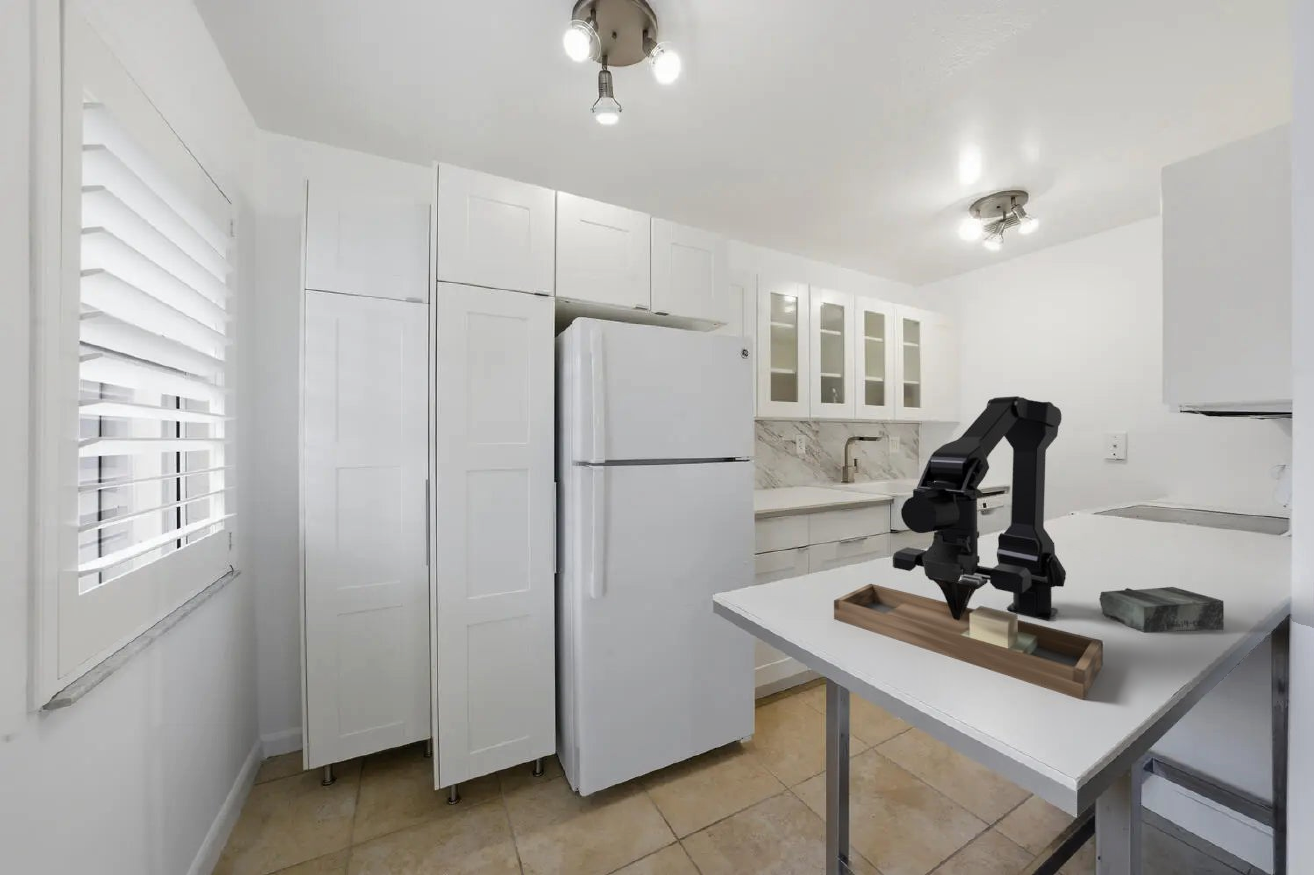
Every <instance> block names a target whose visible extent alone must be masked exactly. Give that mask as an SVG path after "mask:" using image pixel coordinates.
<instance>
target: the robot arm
mask: <svg viewBox="0 0 1314 875" xmlns="http://www.w3.org/2000/svg"><path fill="white" fill-rule="evenodd" d="M1062 417H1063V416H1062V412H1061V409H1060V408H1059V407H1057V406H1056V405H1054V404H1053V402H1051V401H1038V400H1031V399H1027V398H1025V397H1020V396H1019V395H1017V396H1003V397H1002V396H1001V397H994V398H992V399H989V400H988V401H987V404H986V408H985V409H984V410H983V411H982V412H981V413H980V415H979V416H978V417H977V418H976V419H975V420H974V421H973V423H972V424H971V425H970V426H968V428H967V429H966V431H965V432H964V433H963V434H961V436H960V437H959V438H958V439H955V440H952V441H950V442H947V443H944V444H943V445H942V446H940V447H939V448H937V449H936V450H935V451H934V452H932V454H931V455H930V457H929V459H928V460H927V464H926V466H925V468H924V470H923V472H922V474H921V477H920V480H919V482H918V484H917V486H916V488H913V490H912V496H911V497H909V498H908V499H906V500H905V501H904V503H903V505H902V508H900V509H901V510H900V512H901V513H900V514H901V519H902V520H903V523H904V524H905V526H906V527H907V528H908V529H909V530H911V532H913V533H914V532H915V533H917V534H927V533H932V532H934V533H933V541H932V544H931V546H929V547H928V548H927V550H926V549H925V550H924V549H919V548H914V547H909V546H908V547H905V548H902V549H900V550H898V551H897V550H896V552H894V553H893V556H892V568H894V569H898V570H903V571H908V572H911V571H912V570H914V569H916V568H917V567H922V568H923V570H924V571H923V572H924V576H925V577H927V578H928V580H929V581H933V582H934V583H935V584H936V585H938V587H939V588H940V591H942V594H943V596H944V598H945V602H947V603H948V606H949V608H950V611H951V613H952V616H953V618H954V619H955V620H961V618H962V616H963V614H964V612H965V610H966V607H967V608H968V605H969V603H970V601H971V599H972V596H973V595H974V593H975V592H976V590H979V589H980V588H982V587H984V586H985V585H986V584H987V583H988V581H989V583H990V584H991V585H992V587H994V589H995V590H999V591H1004V592H1008V593H1013V595H1012V597H1013V598H1012V600H1013V601H1012V602H1011V603H1010V604H1009V605H1008V606H1007V607H1006V610H1007V612H1011V613H1012V612H1013V613H1015V614H1021V615H1025V616H1029V617H1033V618H1036V619H1037V618H1038V619H1042V620H1046V621H1051V619H1052V618H1054V616H1055V615H1056V614H1057V613H1058V610H1059V609H1058V608H1054V607H1052V606H1053V605H1052V602H1053V601H1052V597H1053V595H1052V594H1053V592H1052V588H1055V587H1061V588H1062V587H1065V582H1066V578H1067V577H1066V576H1067V571H1066V570H1065V568H1064V566H1063V565H1062V563H1061V561H1060V559H1059V558H1058V556H1057V555H1056V551H1055V543H1054V540H1053V539H1052V538H1051V536H1050V535H1049V534H1048V532H1047V531H1046V529H1045V527H1044V526H1045V525H1044V523H1045V522H1044V521H1045V491H1046V490H1045V488H1046V487H1045V486H1046V485H1045V484H1046V453H1047V449H1048V448H1049V447H1050V445H1051V444H1052V443H1053V442H1054V440H1056V438H1057V437H1058V433H1059V426H1060V425H1061V423H1062ZM1003 438H1004V439H1006V441H1007V442H1008V444H1009V445H1010V446H1011V448H1012V477H1011V478H1012V480H1011V482H1012V483H1011V484H1012V485H1011V510H1010V511H1011V512H1010V514H1011V517H1010V518H1011V519H1010V525H1009V526H1008V528H1007V529H1006V530H1005V531H1004V533H1003V532H1000V533H999V535H998V537H997V540H998V542H997V543H998V545H997V550H996V558H997V559H996V560H997V563H998V564H997V565H995V566H994V567H987V566H982V565H979V563H980V561H981V560H980V555H979V551H978V550H979V549H978V545H979V544H978V543H979V542H978V541H979V540H978V539H980V531H978V499H979V498H983V497H984V493H983V491H982V490H980V489H979V488H978V487H979V485H980V484H981V483H982V482H983V480H984V478H985V477H986V475H987V473H988V471H989V470H990V465H989V461H988V457H989V456H990V454H991V453H992V451H993V450H995V448H996V446H997V445H998V444H999V443H1000V441H1002V440H1003ZM916 566H917V567H916Z"/></svg>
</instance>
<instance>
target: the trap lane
mask: <svg viewBox="0 0 1314 875" xmlns="http://www.w3.org/2000/svg"><path fill="white" fill-rule="evenodd" d="M975 609H976V608H971V607H968V606H967V607H966V610H965V612H964V614H963V616H962V618H961V620H955V619H954V618H953V616H952V613H951V611H950V608H949V606H948V603H947V601H942V600H939V599H934V598H931V597H928V596H923V595H918V594H914V593H910V592H907V591H906V592H905V591H902V590H898V589H893V588H890V587H887V586H880V585H878V584H877V585H876V584H873V583H869V584H866V585H864V586H862V587H860V588H858V589H855V590H854V591H852V592H849V593H847V594H845V595H842V596H841V597H839V598H836V599H834V600H833V620H836V621H838V622H842V623H845V624H847V625H851V626H855V627H858V628H861V629H864V630H867V631H870V632H873V633H876V634H879V635H882V636H885V637H889V638H892V639H895V640H898V641H901V642H903V643H907V644H910V645H912V646H913V645H914V646H917V647H919V648H923V649H926V650H929V651H931V652H934V653H937V654H940V655H944V656H947V657H950V658H953V659H956V660H960V661H963V662H966V663H969V664H971V665H975V666H978V667H981V668H984V669H987V670H991V671H993V672H996V673H1000V674H1002V675H1005V676H1008V677H1012V678H1014V679H1018V680H1021V681H1024V682H1028V683H1030V684H1033V685H1036V686H1040V687H1043V688H1046V689H1049V690H1051V691H1055V692H1058V693H1060V694H1064V695H1066V696H1070V697H1074V698H1076V699H1079V700H1085V697H1086V696H1087V694H1088V692H1089V690H1090V688H1091V686H1093V683H1094V681H1095V680H1096V677H1097V675H1098V673H1099V672H1100V670H1101V668H1102V667H1103V663H1104V662H1103V659H1104V658H1103V656H1104V653H1103V652H1104V651H1103V648H1104V645H1103V643H1104V642H1103V641H1104V640H1101V639H1097V638H1095V637H1089V636H1085V635H1081V634H1077V633H1074V632H1073V633H1072V632H1069V631H1064V630H1062V629H1056V628H1054V627H1053V628H1052V627H1050V626H1045V625H1040V624H1036V623H1032V622H1028V621H1023V620H1020V619H1018V640H1017V641H1016V642H1015V643H1014V644H1013V645H1012V646H1011V647H1010V648H1009V649H1008V648H1005V647H1001V646H998V645H994V644H991V643H987V642H984V641H980V640H977V639H973V638H970V613H971V612H973V611H974V610H975Z"/></svg>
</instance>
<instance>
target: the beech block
mask: <svg viewBox="0 0 1314 875" xmlns="http://www.w3.org/2000/svg"><path fill="white" fill-rule="evenodd" d="M974 609H975V610H974V611H973V612H971V613H970V638H973V639H977V640H980V641H984V642H987V643H991V644H994V645H998V646H1001V647H1005V648H1008V649H1009V648H1010V647H1011V646H1012V645H1013V644H1014V643H1015V642H1016V641H1017V640H1018V620H1019V616H1018V615H1019V614H1018V613H1014V612H1013V613H1012V612H1010V611H1004V610H1000V609H997V608H992V607H988V606H985V605H984V606H982V605H979V606H978V607H976V608H974Z"/></svg>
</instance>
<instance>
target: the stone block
mask: <svg viewBox="0 0 1314 875" xmlns="http://www.w3.org/2000/svg"><path fill="white" fill-rule="evenodd" d="M1099 603H1100V607H1101V612H1102V615H1103V616H1105V617H1108V618H1110V619H1112V620H1115V621H1117V622H1119V623H1122V624H1123V625H1125V626H1127V627H1129V628H1132V629H1134V630H1137V631H1139V632H1142V633H1164V632H1165V633H1166V632H1168V633H1169V632H1170V633H1171V632H1173V631H1174V632H1175V631H1183V630H1187V631H1189V630H1190V631H1208V630H1210V629H1211V630H1224V627H1225V619H1224V617H1225V611H1224V610H1225V609H1224V608H1225V607H1224V600H1221V599H1218V598H1214V597H1213V596H1212V597H1211V596H1208V595H1205V594H1204V595H1203V594H1201V593H1196V592H1194V591H1191V590H1190V591H1189V590H1186V589H1182V588H1178V587H1176V586H1175V587H1174V586H1166V587H1155V588H1152V587H1151V588H1144V589H1143V588H1142V589H1132V588H1129V587H1126V588H1125V589H1123V590H1122V589H1121V590H1109V591H1100V595H1099Z"/></svg>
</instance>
